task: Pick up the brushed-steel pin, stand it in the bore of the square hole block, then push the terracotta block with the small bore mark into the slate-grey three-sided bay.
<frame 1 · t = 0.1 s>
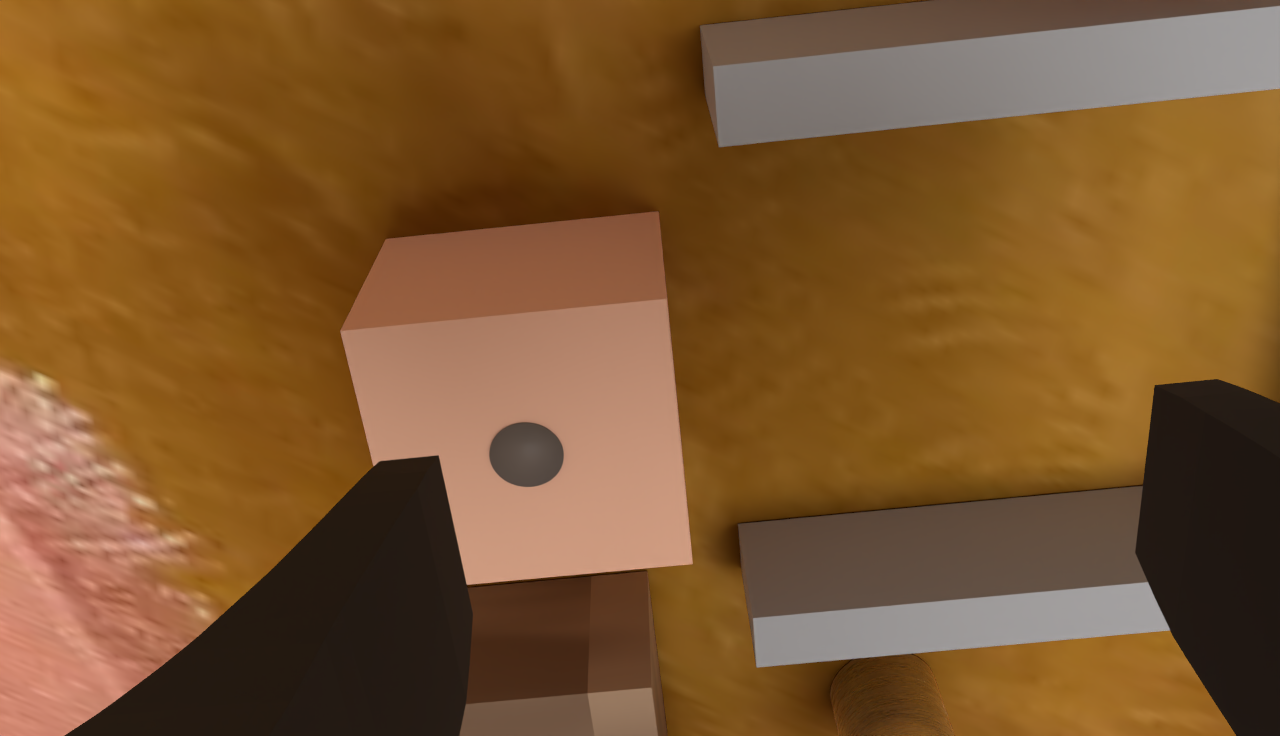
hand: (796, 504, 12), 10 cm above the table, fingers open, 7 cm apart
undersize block: (541, 344, 22), on the table
square hole block: (528, 689, 26), on the table
pin: (882, 690, 26), on the table
bay: (1013, 301, 22), on the table
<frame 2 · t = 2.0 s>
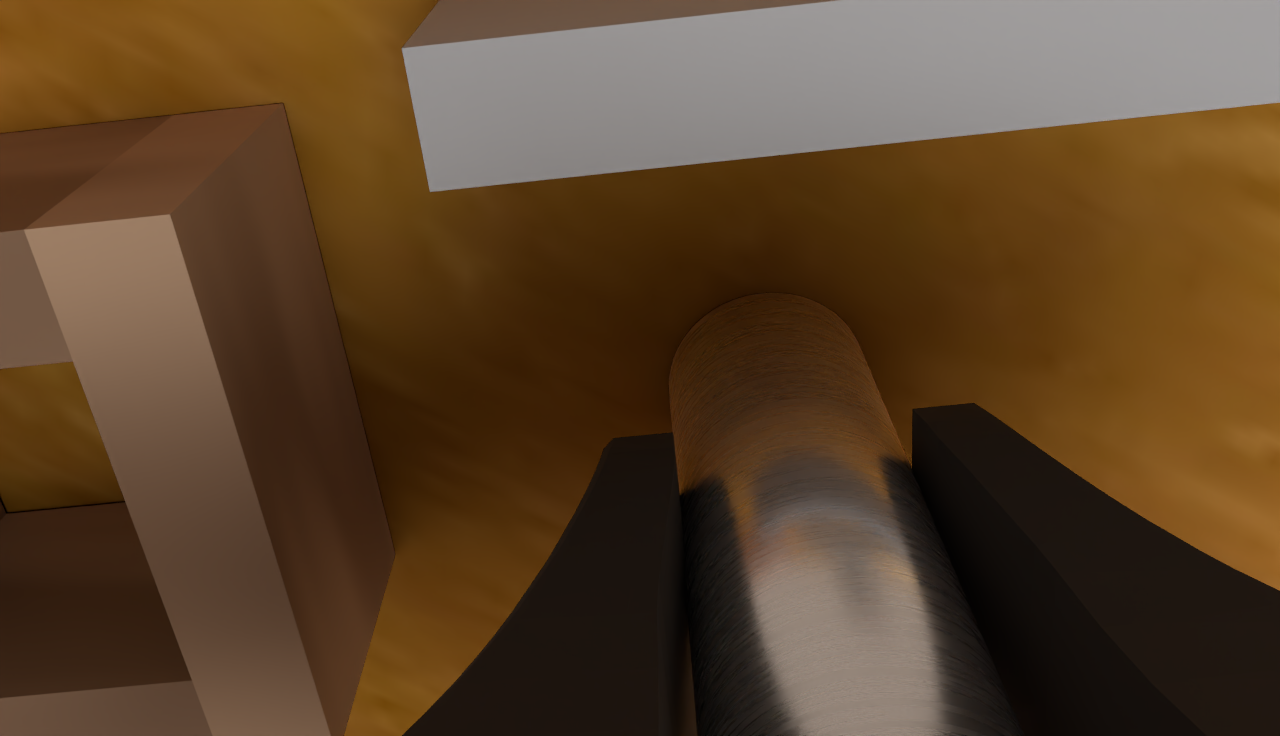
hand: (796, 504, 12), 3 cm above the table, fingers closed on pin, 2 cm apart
square hole block: (98, 376, 14), on the table
pin: (767, 382, 14), on the table, touching gripper
when the fingers open (4 cm above the table, at t = 4.9 s): pin drops 1 cm, resting in square hole block.
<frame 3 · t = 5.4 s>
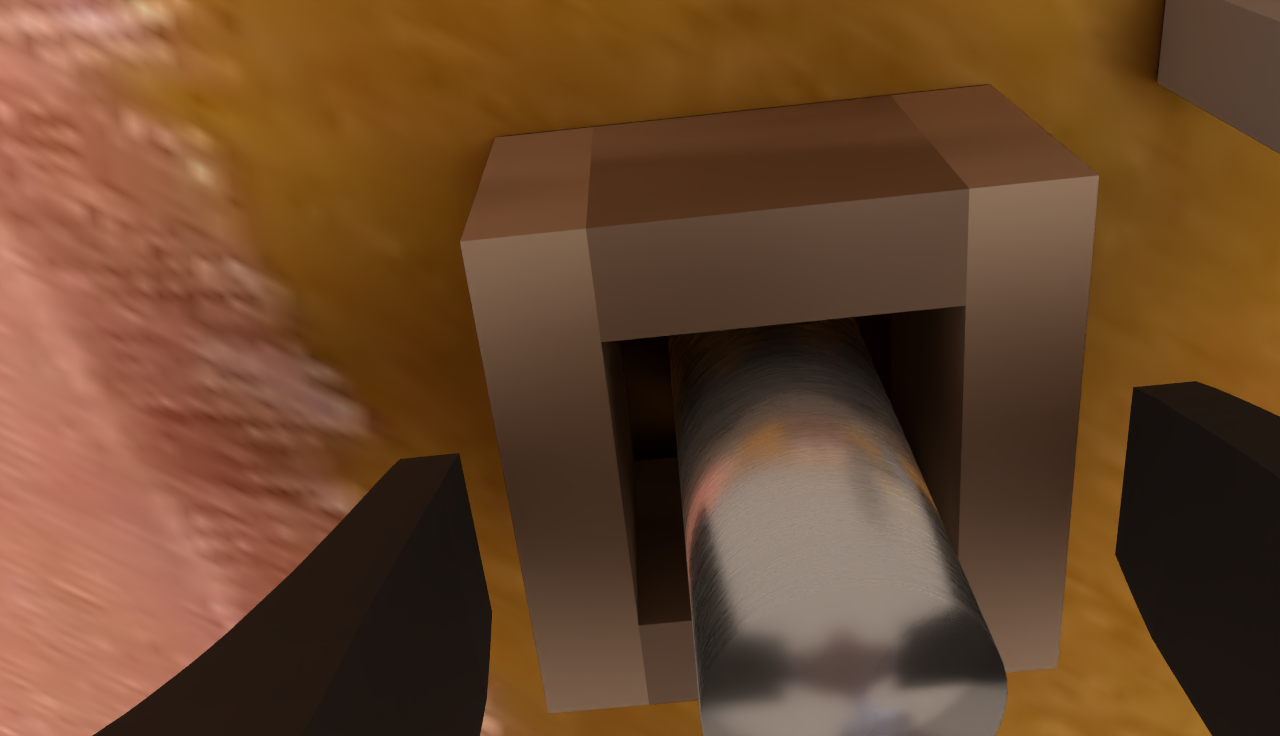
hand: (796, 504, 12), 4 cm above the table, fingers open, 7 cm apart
square hole block: (755, 333, 15), on the table
pin: (757, 326, 15), resting in square hole block
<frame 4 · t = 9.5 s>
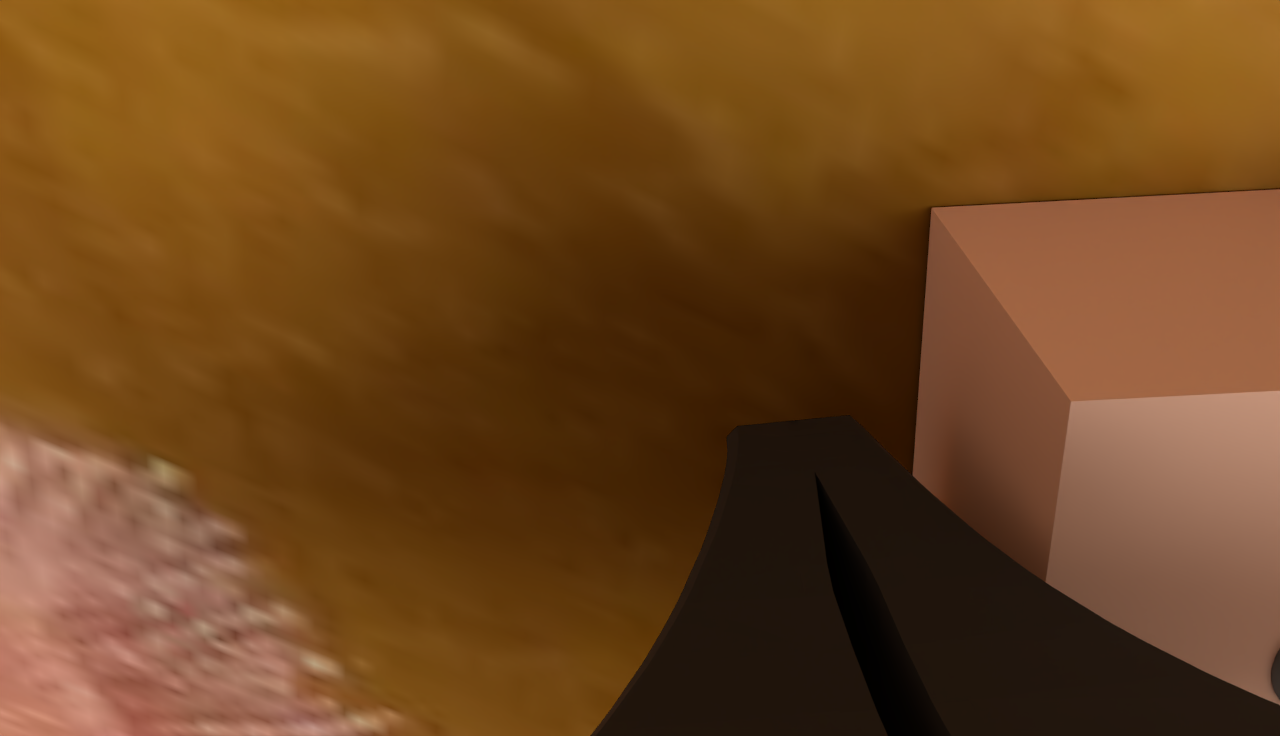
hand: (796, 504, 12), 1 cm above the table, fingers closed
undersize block: (1143, 411, 13), on the table, touching gripper
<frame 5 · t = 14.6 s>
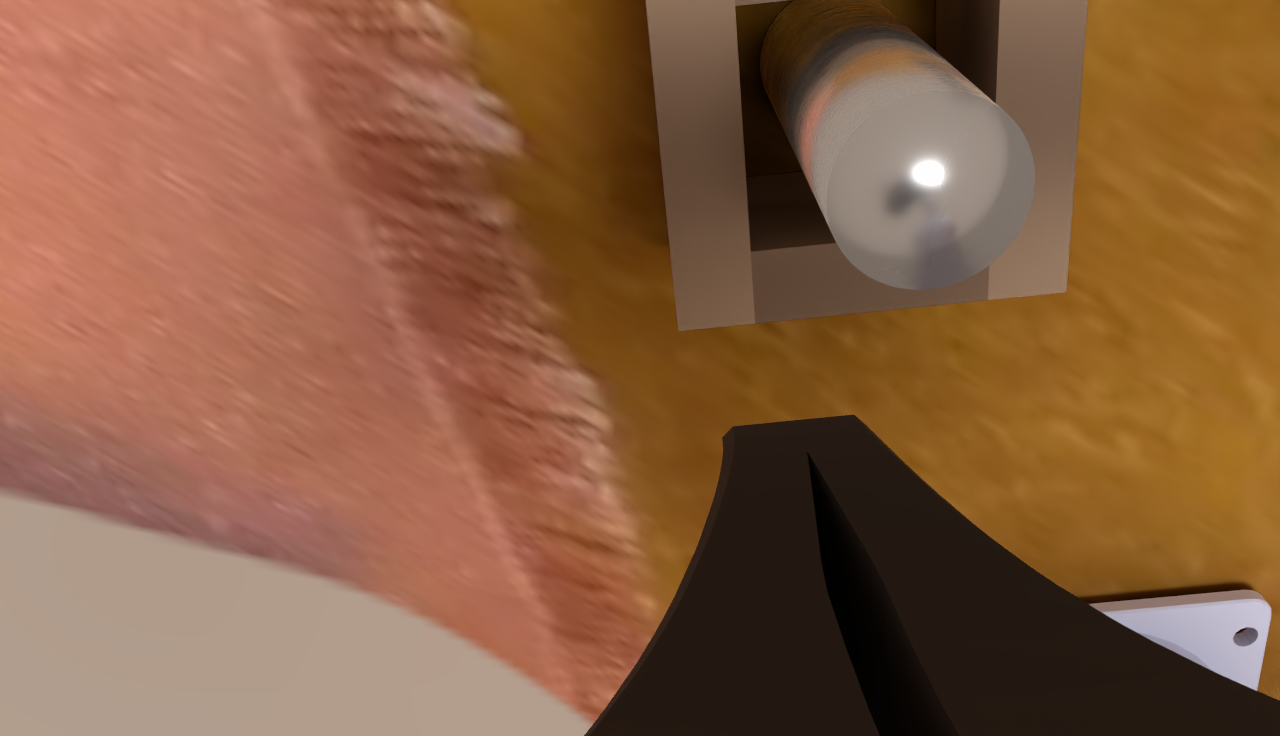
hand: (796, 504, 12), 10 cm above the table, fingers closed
square hole block: (829, 66, 19), on the table
pin: (830, 59, 19), resting in square hole block
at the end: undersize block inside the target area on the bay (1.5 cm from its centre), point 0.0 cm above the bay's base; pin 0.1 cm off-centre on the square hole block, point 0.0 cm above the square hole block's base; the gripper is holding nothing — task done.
